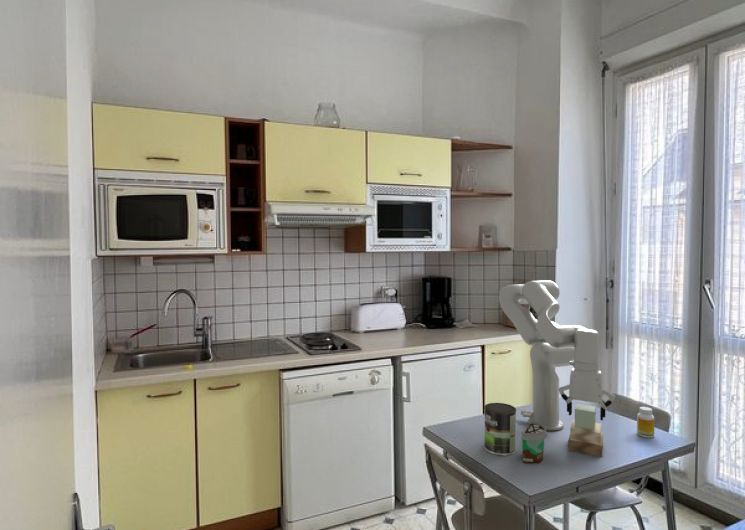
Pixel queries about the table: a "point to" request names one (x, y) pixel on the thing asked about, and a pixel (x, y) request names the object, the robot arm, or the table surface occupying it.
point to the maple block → (586, 434)
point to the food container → (533, 443)
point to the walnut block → (586, 447)
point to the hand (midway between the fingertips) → (585, 416)
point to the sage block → (585, 416)
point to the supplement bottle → (645, 422)
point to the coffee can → (500, 429)
